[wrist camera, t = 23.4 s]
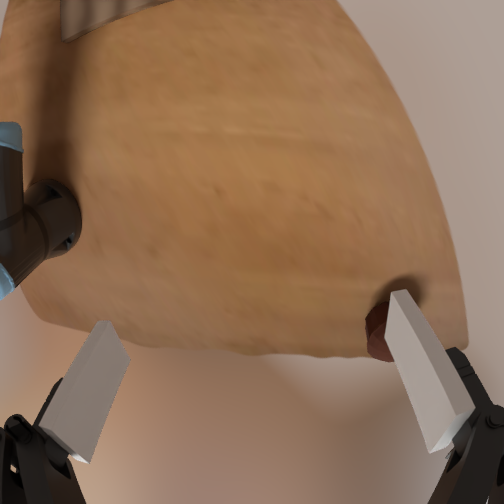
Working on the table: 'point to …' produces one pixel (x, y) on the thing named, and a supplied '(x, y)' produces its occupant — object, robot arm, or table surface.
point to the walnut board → (96, 14)
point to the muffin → (378, 333)
